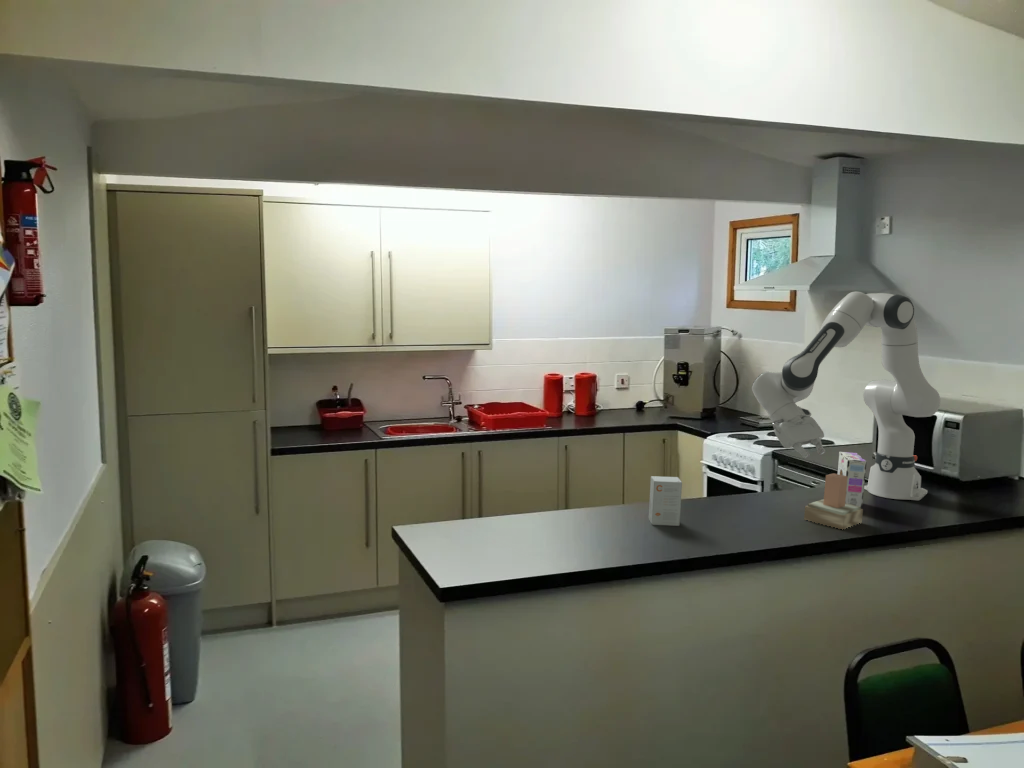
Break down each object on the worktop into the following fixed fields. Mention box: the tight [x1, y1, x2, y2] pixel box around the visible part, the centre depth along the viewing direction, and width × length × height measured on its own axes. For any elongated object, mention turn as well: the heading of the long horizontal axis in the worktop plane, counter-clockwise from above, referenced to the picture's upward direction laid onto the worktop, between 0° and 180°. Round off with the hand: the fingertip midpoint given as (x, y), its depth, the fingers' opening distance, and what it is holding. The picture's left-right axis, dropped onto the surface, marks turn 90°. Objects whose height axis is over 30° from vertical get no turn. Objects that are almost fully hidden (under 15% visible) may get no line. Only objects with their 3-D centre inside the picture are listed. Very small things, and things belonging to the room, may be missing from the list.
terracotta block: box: [823, 473, 848, 508], centre depth 241 cm, size 4×4×9 cm
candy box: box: [837, 451, 867, 509], centre depth 260 cm, size 14×6×16 cm, turn 168°
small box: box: [648, 475, 683, 527], centre depth 234 cm, size 8×6×13 cm
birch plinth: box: [803, 498, 864, 531], centre depth 242 cm, size 12×12×5 cm
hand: (815, 455), depth 245 cm, fingers open, 8 cm apart
